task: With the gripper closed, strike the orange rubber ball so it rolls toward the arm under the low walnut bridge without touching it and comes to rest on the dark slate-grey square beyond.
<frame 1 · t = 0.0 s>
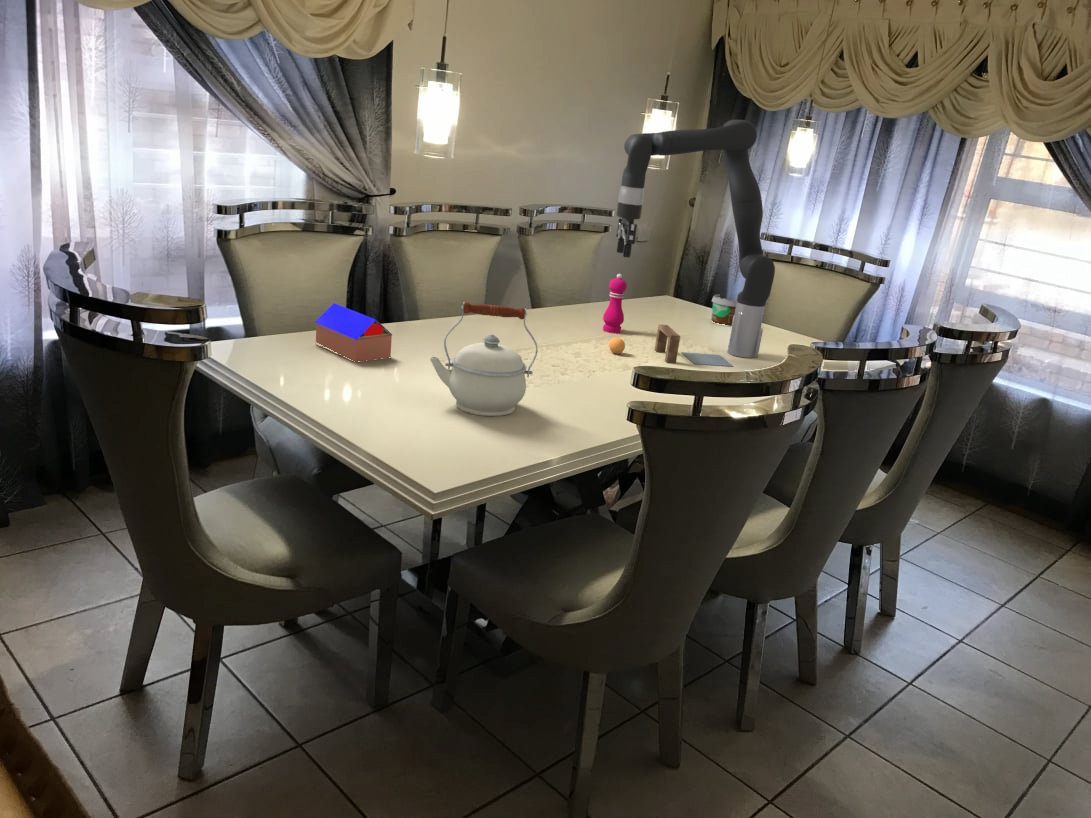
hand: (623, 254, 266), 29 cm above the table, tool pointing down, fingers open, 8 cm apart
ball: (617, 345, 266), on the table
bridge: (664, 356, 269), on the table
kettle: (478, 407, 204), on the table
food container: (717, 323, 328), on the table
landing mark: (706, 359, 272), on the table
house: (352, 352, 237), on the table
pepper mill: (611, 331, 295), on the table
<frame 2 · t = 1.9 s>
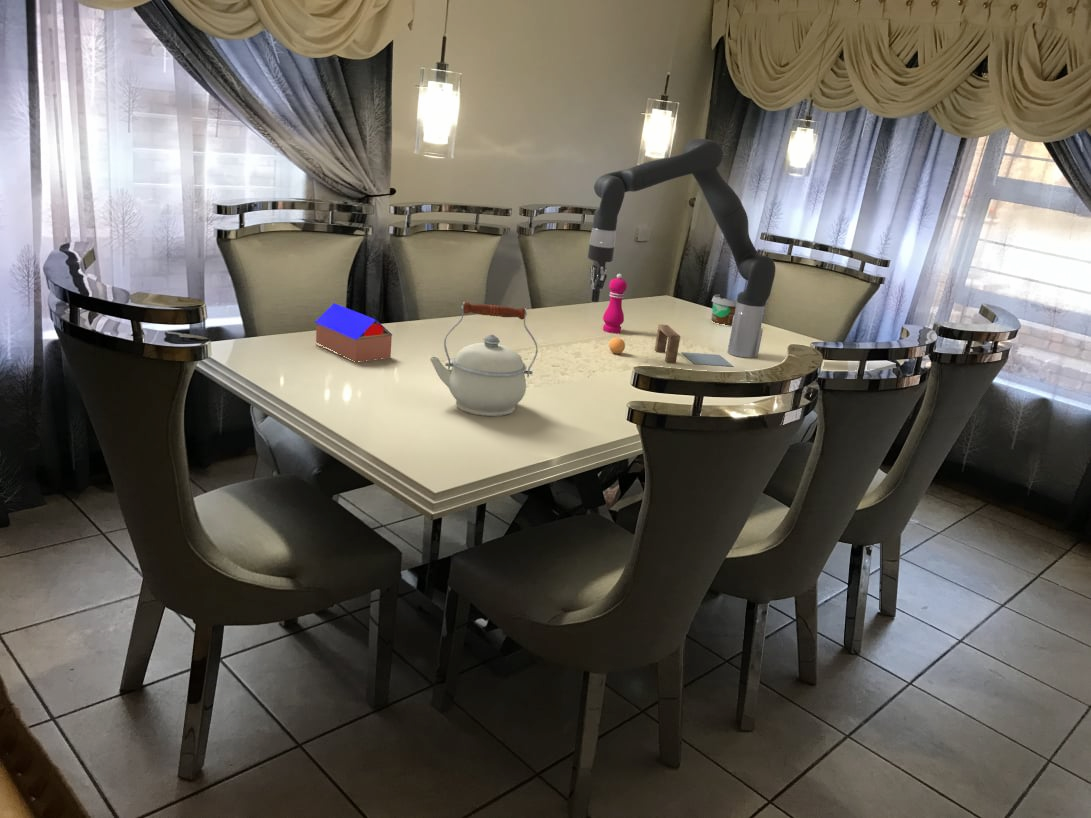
hand: (594, 301, 260), 16 cm above the table, tool pointing down, fingers closed
nothing on the table moved.
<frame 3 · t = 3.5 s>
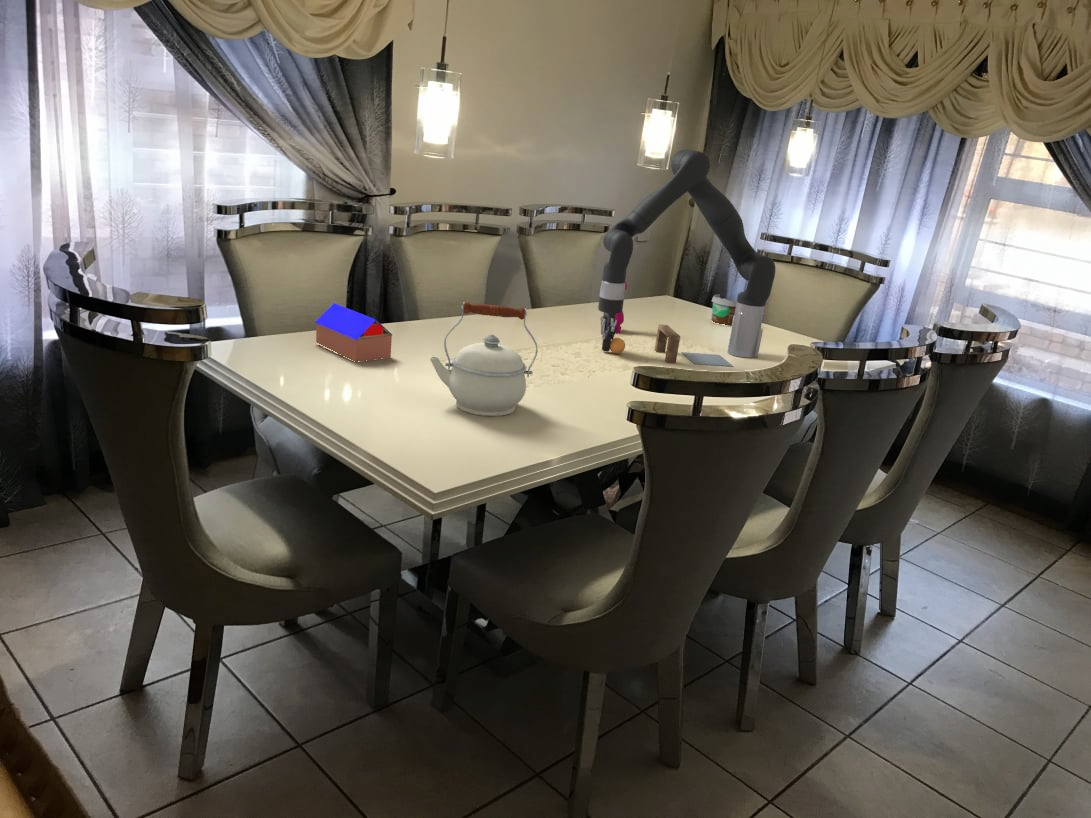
hand: (605, 350, 266), 1 cm above the table, tool pointing down, fingers closed
ball: (617, 345, 266), on the table, touching gripper
everything else where it was.
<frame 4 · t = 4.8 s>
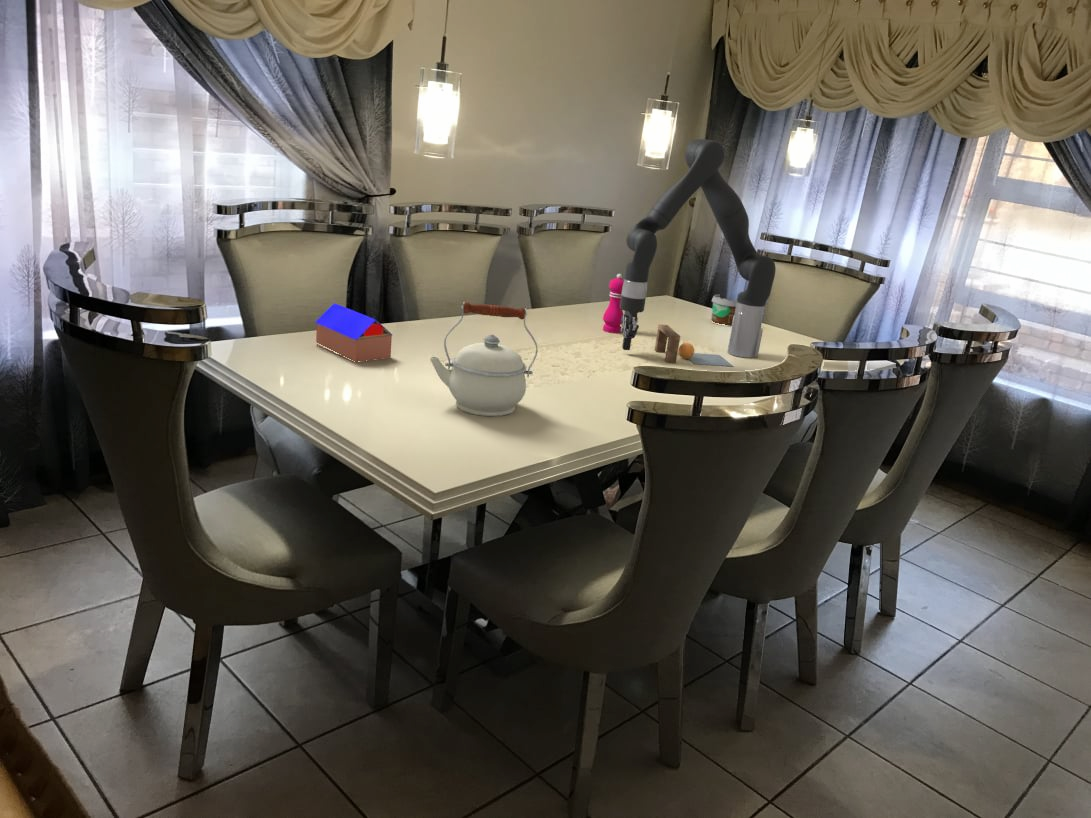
hand: (625, 349, 266), 2 cm above the table, tool pointing down, fingers closed
ball: (686, 350, 269), on the table
everything else where it was.
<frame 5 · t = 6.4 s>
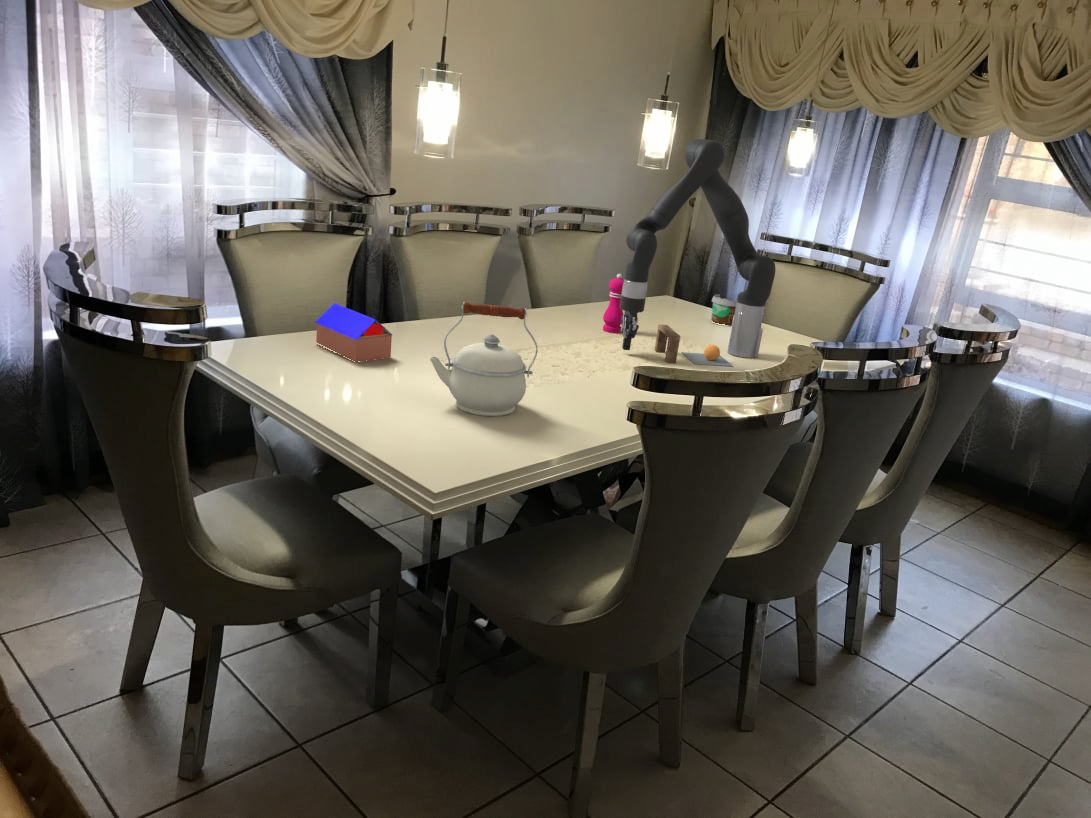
hand: (625, 349, 266), 2 cm above the table, tool pointing down, fingers closed
ball: (712, 352, 271), on the table
everything else where it was.
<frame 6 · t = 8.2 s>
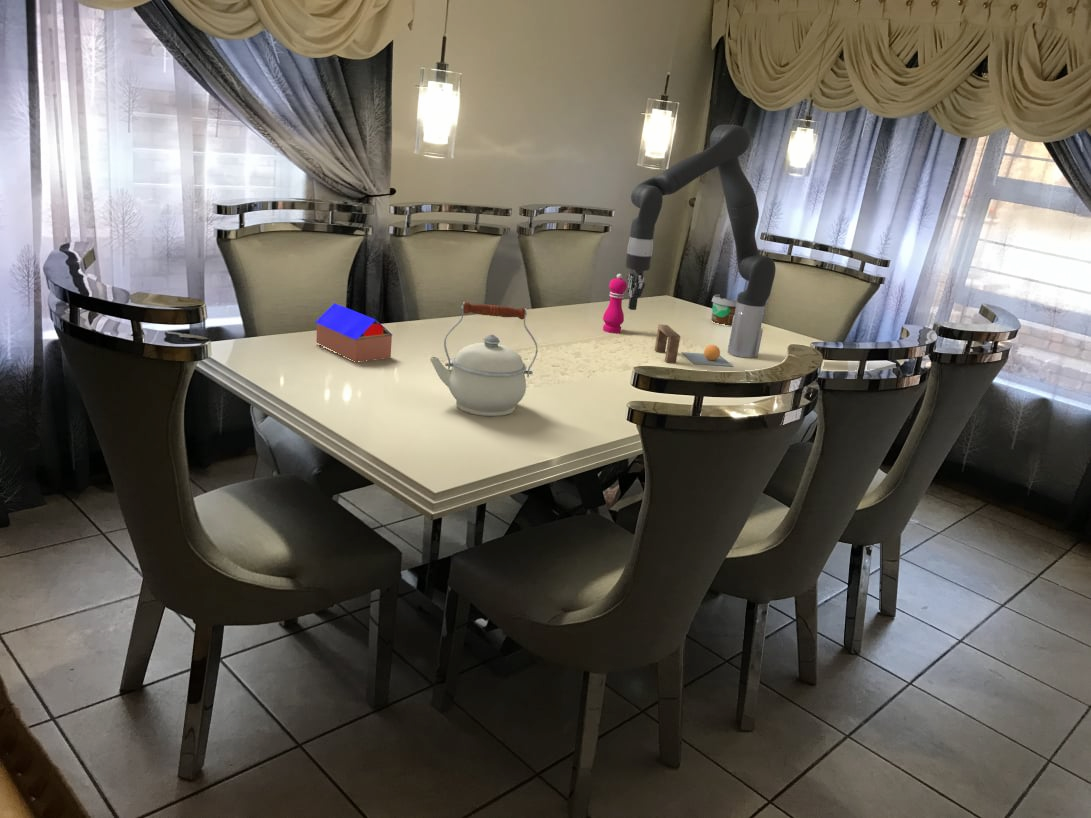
hand: (632, 309, 262), 14 cm above the table, tool pointing down, fingers closed
nothing on the table moved.
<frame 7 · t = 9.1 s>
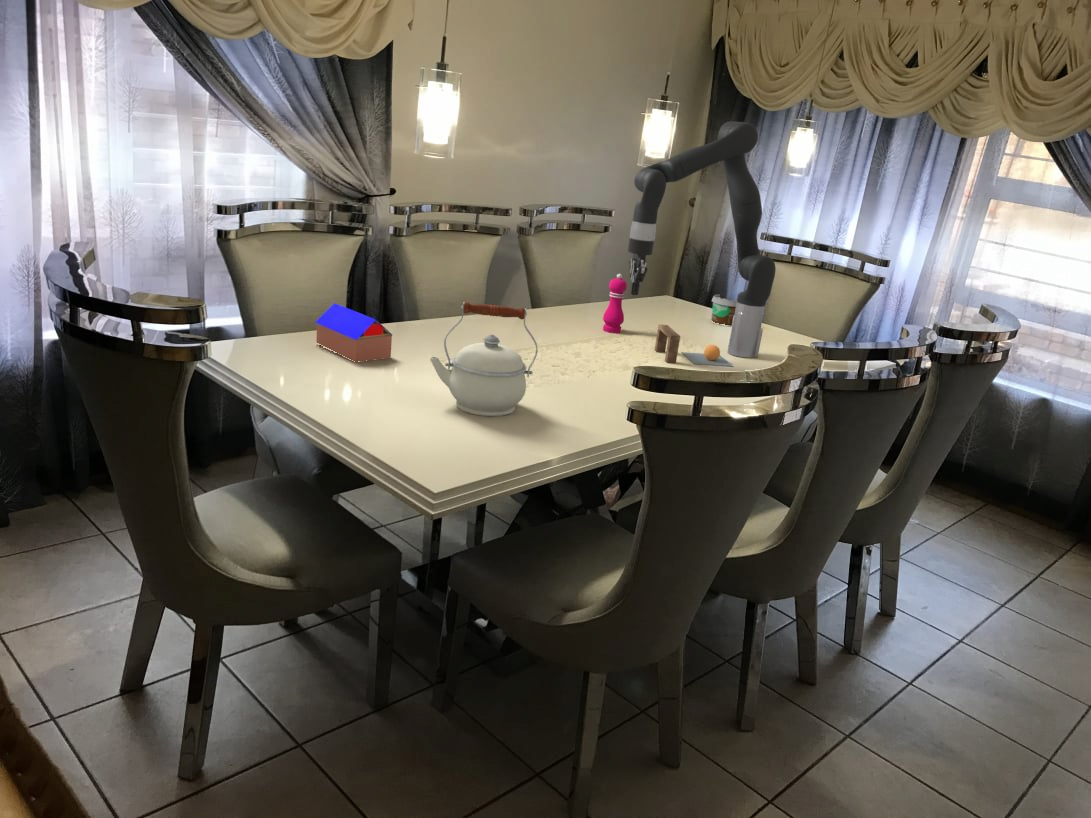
hand: (633, 294, 261), 19 cm above the table, tool pointing down, fingers closed
nothing on the table moved.
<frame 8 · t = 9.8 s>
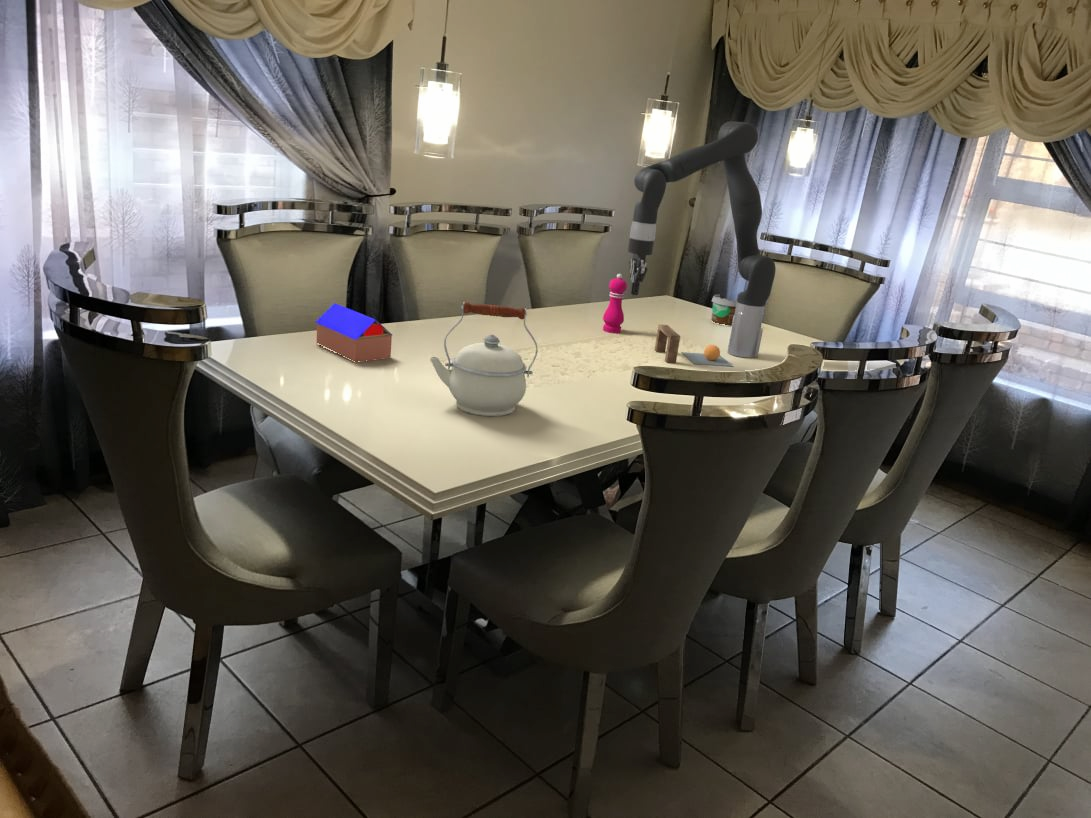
hand: (633, 294, 261), 19 cm above the table, tool pointing down, fingers closed
nothing on the table moved.
at the end: ball 1.2 cm from the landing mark (horizontally); ball never touched bridge; ball at rest at the end (0.0 cm/s) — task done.
